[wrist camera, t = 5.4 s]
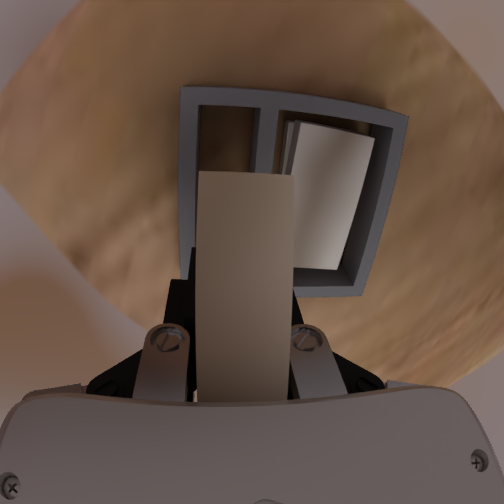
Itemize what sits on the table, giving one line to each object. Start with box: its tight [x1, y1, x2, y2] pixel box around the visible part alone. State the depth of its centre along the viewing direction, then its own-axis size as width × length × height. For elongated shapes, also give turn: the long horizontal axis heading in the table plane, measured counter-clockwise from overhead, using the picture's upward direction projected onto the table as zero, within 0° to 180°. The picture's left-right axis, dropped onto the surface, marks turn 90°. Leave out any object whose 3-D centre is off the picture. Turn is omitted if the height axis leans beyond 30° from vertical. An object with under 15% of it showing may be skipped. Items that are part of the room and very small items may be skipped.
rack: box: [178, 86, 409, 297], centre depth 21 cm, size 14×14×3 cm
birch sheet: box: [195, 171, 294, 402], centre depth 12 cm, size 2×7×12 cm
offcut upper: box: [285, 119, 375, 270], centre depth 21 cm, size 5×10×2 cm, turn 171°
